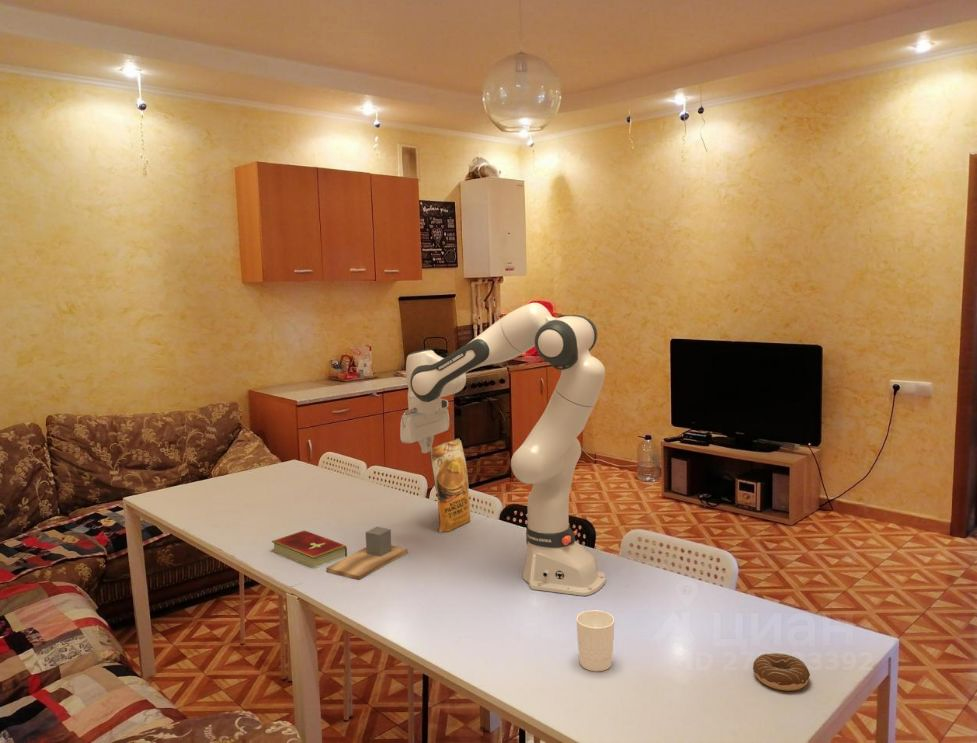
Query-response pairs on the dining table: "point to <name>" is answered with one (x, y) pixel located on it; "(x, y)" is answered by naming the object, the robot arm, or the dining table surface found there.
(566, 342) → the robot arm
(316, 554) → the hardcover book
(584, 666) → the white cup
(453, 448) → the pancake mix bag
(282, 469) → the dining table surface
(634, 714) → the dining table surface
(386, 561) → the board
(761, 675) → the donut
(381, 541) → the gray rectangular block
